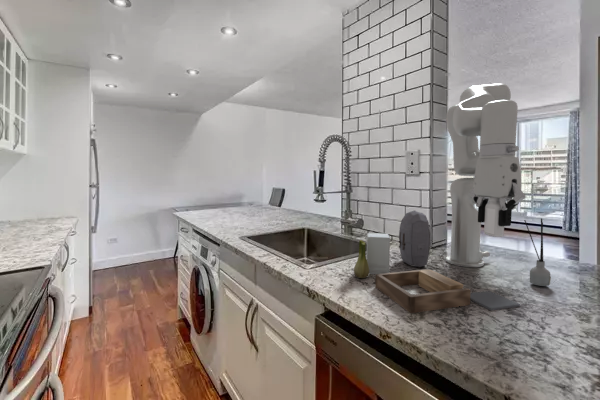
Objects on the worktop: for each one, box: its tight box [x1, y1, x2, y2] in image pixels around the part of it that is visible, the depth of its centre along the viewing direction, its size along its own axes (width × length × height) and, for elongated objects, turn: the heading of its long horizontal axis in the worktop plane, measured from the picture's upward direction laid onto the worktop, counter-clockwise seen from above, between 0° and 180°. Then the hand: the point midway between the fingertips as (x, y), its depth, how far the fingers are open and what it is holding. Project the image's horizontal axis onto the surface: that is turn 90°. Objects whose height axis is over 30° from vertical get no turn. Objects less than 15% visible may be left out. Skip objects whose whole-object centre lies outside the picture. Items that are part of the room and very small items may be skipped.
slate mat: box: [470, 290, 521, 311], centre depth 78 cm, size 9×9×1 cm
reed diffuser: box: [524, 218, 552, 287], centre depth 89 cm, size 10×7×20 cm
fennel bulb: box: [353, 240, 370, 279], centre depth 97 cm, size 6×5×12 cm
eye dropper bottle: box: [483, 197, 505, 238], centre depth 76 cm, size 4×6×12 cm
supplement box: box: [366, 232, 391, 275], centre depth 103 cm, size 7×7×13 cm
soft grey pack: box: [398, 210, 431, 267], centre depth 110 cm, size 15×8×20 cm, turn 3°
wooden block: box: [417, 269, 464, 293], centre depth 84 cm, size 4×13×4 cm, turn 14°
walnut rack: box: [374, 268, 472, 314], centre depth 82 cm, size 17×17×4 cm
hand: (493, 223), depth 77 cm, fingers closed on eye dropper bottle, 5 cm apart
